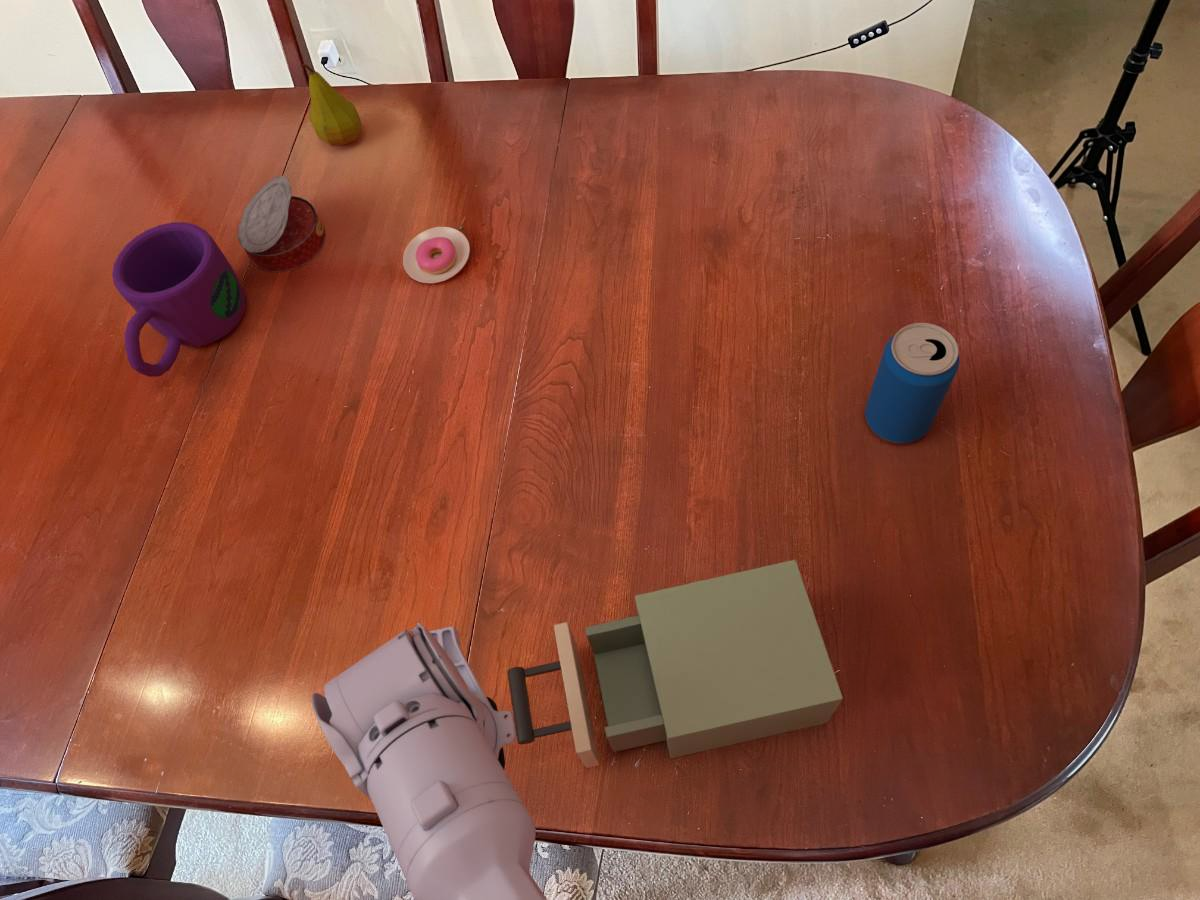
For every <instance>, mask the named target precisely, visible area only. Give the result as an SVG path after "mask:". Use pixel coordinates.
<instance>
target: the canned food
mask: <svg viewBox="0 0 1200 900" xmlns="http://www.w3.org/2000/svg"><path fill="white" fill-rule="evenodd" d="M292 194H293V192H292V187H291V184H290V180H289V178H288V177H286V175H280V176H275V177H273V178H272V179H270V181H268V182H266V183H265V184H263V185H262V187H261V188H260V189H259V190H258V191H257V192H256V193H255V194H254V195H253V196H252V198H251V199H250V201H249V203H248V204H247V206H246V207H245V208H244V210H243V214H242V217H241V219H240V221H239V224H238V229H237V239H238V242H239V243H238V244H240V246H241V247H242V249H243V250H244V252H245V253H246V254H247V256H248V257H249V259H250V261H251V262H252V264H253V265H254V266H255V267H256V268H258V269H260V270H262V271H265V272H270V273H285V272H290V271H293V270H296V269H299V268H301V267H303V266H304V265H306V264H308V263H310V261H312V260H313V259H314V258H316V256H318V254H319V253H320V252H321V250H322V248H323V247H324V244H325V242H326V236H327V235H326V234H327V233H326V228H325V225H324V224H323V222H322V220H321V218H320V216H319V214H318V212H317V210H316V208H315V206H314V205H313V204H312V203H311V202H310V201H308V200H307V199H304V198H303V197H301V196H295V195H292Z"/></svg>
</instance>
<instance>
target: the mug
mask: <svg viewBox="0 0 1200 900" xmlns="http://www.w3.org/2000/svg"><path fill="white" fill-rule="evenodd" d="M111 273H112V274H111V276H112V280H113V285H114V287H115V289H116V290H117V291H118V293H119V294H120V295H121V297H123V299H124V300H125V301H126V302H127V303H128V304H129V306H131V308H132V309H133V310H134V311H135V312H136V313H134V314H133V315H132V316H131V318H130V320H129V321H128V322H127V324H126V328H125V333H124V347H125V348H124V349H125V353H126V357H127V361H128V363H129V365H130V367H131V368H132V369H133V370H134V371H136V372H137V373H138V374H140V375H143V376H145V377H149V378H153V377H155V378H156V377H162V376H163V375H164V374H166V373H167V372H168V371H169V370H171V368H172V367H173V365H174V363H175V362H176V361H177V358H178V356H179V354H180V351H181V346H184V347H200V346H201V347H202V346H205V345H209V344H211V343H214V342H216V341H219V340H220V339H222V338H224V337H225V336H226V335H228V334H230V333H231V331H233V330H234V329H235V328H236V327H237V325H238V324H239V323H240V320H241V319H242V317H243V315H244V313H245V309H246V295H245V292H244V289H243V287H242V284H241V282H240V280H239V279H240V278H239V277H238V275H237V274H236V272H235V270H234V268H233V267H232V265H231V264H230V262H229V261H228V259H227V257H226V256H225V253H223V251H222V250H221V248H220V247H219V245H218V244H217V243H216V241H215V240H214V238H213V237H212V236H211V235H210V233H208V231H207V230H206V229H203V228H202V227H201V226H198V225H197V224H195V223H189V222H185V221H181V222H180V221H179V222H178V221H176V222H175V221H174V222H168V223H163V224H159V225H157V226H153V227H151V228H149V229H146V230H144V231H143V232H141V233H139V234H138V235H136V236H135V237H133V239H131V240H130V241H129V242H128V243H126V245H124V247H123V248H122V249H121V250H120V252H119V253H118V255H117V257H116V259H115V261H114V263H113V268H112V272H111ZM146 324H148V325H150V327H152V329H154V330H155V331H156V332H157V333H159V334H160V335H162V336H163V337H164V338H165V339H167V344H166V348H165V350H164V352H163V354H162V356H161V358H160V359H159V361H157V363H155V364H153V363H149V362H145V360H144V359H143V355H142V351H141V344H140V336H141V335H140V334H141V331H142V329H143V328H144V326H145V325H146Z"/></svg>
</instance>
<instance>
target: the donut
mask: <svg viewBox="0 0 1200 900" xmlns="http://www.w3.org/2000/svg"><path fill="white" fill-rule="evenodd" d="M465 220H466V216H465V215H464V216H463V219H462V220H461V226H460V227H459V230H458V229H456V228H453V227H450V226H436V227H431V228H428V229H425V230H424V231H423V230H422V231H421V232H419V233H418V234H417V235H416V236H414V237H413V238H412V239H411V240H410V241H409V243H408V244H407V245H406V246H405V250H404V251H403V255H402V266H403V269H404V271H405V273H406V274H407V275H408V277H409V278H411V279H412V280H414V281H417V282H419V283H424V284H438V283H442V282H444V281H447V280H449V279H451V278H453V277H454V276H456V275H457V274H458V273H459V272H460V271H461V270H462V269H463V268H464V267H465V265H466V264H467V262H468V260H469V257H470V253H471V247H470V242H469V240H468V238H467V237H466V235H465V234H464V233H463V232H462V231H460V230H462V229H463V225H464V222H465Z"/></svg>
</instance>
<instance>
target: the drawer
mask: <svg viewBox="0 0 1200 900" xmlns="http://www.w3.org/2000/svg"><path fill="white" fill-rule="evenodd" d="M553 629H554V635H555V642H556V646H557V653H558V659H559V660H558V661H553V662H549V663H546V664H541V665H536V666H532V667H527V668H524V667H523V666H514V667H511V668H509V669H507V679H508V687H509V692H510V698H511V700H510V701H511V707H512V715H513V717H514V724H515V730H516V742H517V744H518V745H520V746H521V745H528V744H531V743H534V742H535V741H536V739H538V738H543V737H547V736H551V735H556V734H560V733H566V732H569V731H571V732H572V739H573V743H574V749H575V753H576V755H577V757H578V758H579V760H580V761H581V763H582V764H583V765H584V767H585V768H586V769H588V768H593V767H596V766H600V764H601V763H600V758H599V753H598V747H597V741H596V736H595V732H594V726H593V721H592V716H591V715H592V714H591V710H590V706H589V700H588V694H587V689H586V684H585V679H584V673H583V667H582V662H581V658H580V652H579V647H578V644H577V641H576V639H575V636H574V634H573V632H572V629H571V627H570V625H569V622H567V621H565V622H561V623H557V624H553ZM585 634H586V638H587V641H588V643H589V646H590V649H591V652H592V654H593V655H592V656H593V659H594V665H595V669H596V675H597V680H598V684H599V688H600V689H599V690H600V695H601V700H602V703H603V709H604V714H605V715H604V716H605V721H606V725H607V726H604V732H605V733H604V734H605V737H606V740H607V741H608V745H609V746H610V748H611V751H612V752H613V753H615V752H621V751H625V750H629V749H633V748H637V747H643V746H647V745H651V744H655V743H661V742H664V741H666V740H667V737H666V730H665V726H664V722H663V717H662V713H661V709H660V704H659V700H658V696H657V691H656V687H655V683H654V678H653V674H652V670H651V665H650V661H649V657H648V652H647V648H646V644H645V639H644V635H643V631H642V626H641V622H640V618H639V615H638V614H637V615H632V616H628V617H624V618H619V619H615V620H611V621H605V622H601V623H597V624H593V625H589V626H585ZM557 671H561V677H562V681H563V686H564V692H565V698H566V704H567V710H568V715H569V720H570V721H565V722H561V723H556V724H552V725H547V726H543V727H539V728H534V725H533V720H532V719H533V717H532V713H531V706H530V700H529V693H528V687H527V686H528V685H527V679H526V678H530V677H534V676H539V675H544V674H549V673H552V672H557Z"/></svg>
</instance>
